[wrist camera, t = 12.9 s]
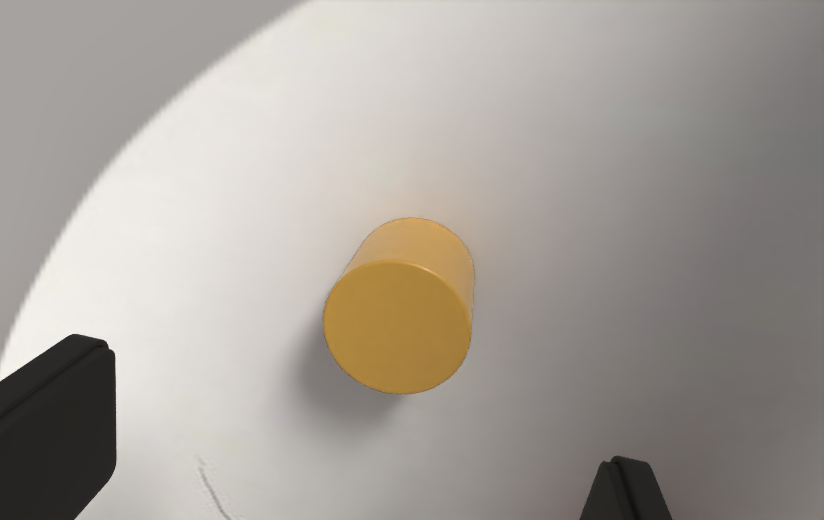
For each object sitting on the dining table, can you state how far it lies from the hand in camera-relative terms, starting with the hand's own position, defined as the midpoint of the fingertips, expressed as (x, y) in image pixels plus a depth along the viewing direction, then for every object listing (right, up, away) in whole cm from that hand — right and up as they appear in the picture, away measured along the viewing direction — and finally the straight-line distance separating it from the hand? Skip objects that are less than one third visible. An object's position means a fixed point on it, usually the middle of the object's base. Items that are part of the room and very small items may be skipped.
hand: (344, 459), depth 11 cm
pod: (+1, +3, +8) cm, 9 cm away
